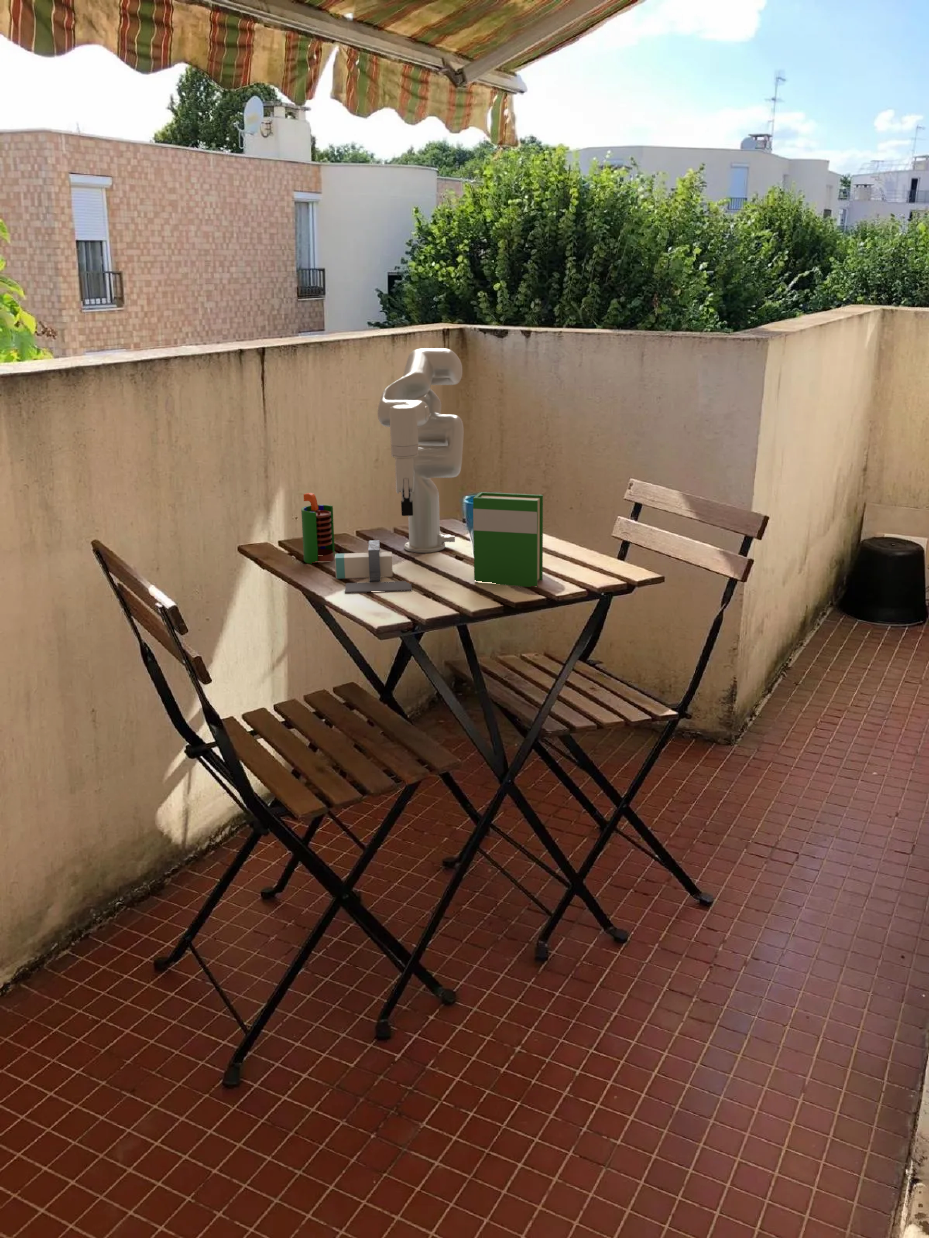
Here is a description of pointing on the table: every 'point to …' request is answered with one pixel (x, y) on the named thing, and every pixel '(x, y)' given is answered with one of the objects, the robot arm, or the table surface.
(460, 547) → the table surface
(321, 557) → the motor
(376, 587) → the mat
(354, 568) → the white and teal box
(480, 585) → the table surface
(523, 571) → the hardback book
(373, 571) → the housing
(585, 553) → the table surface
